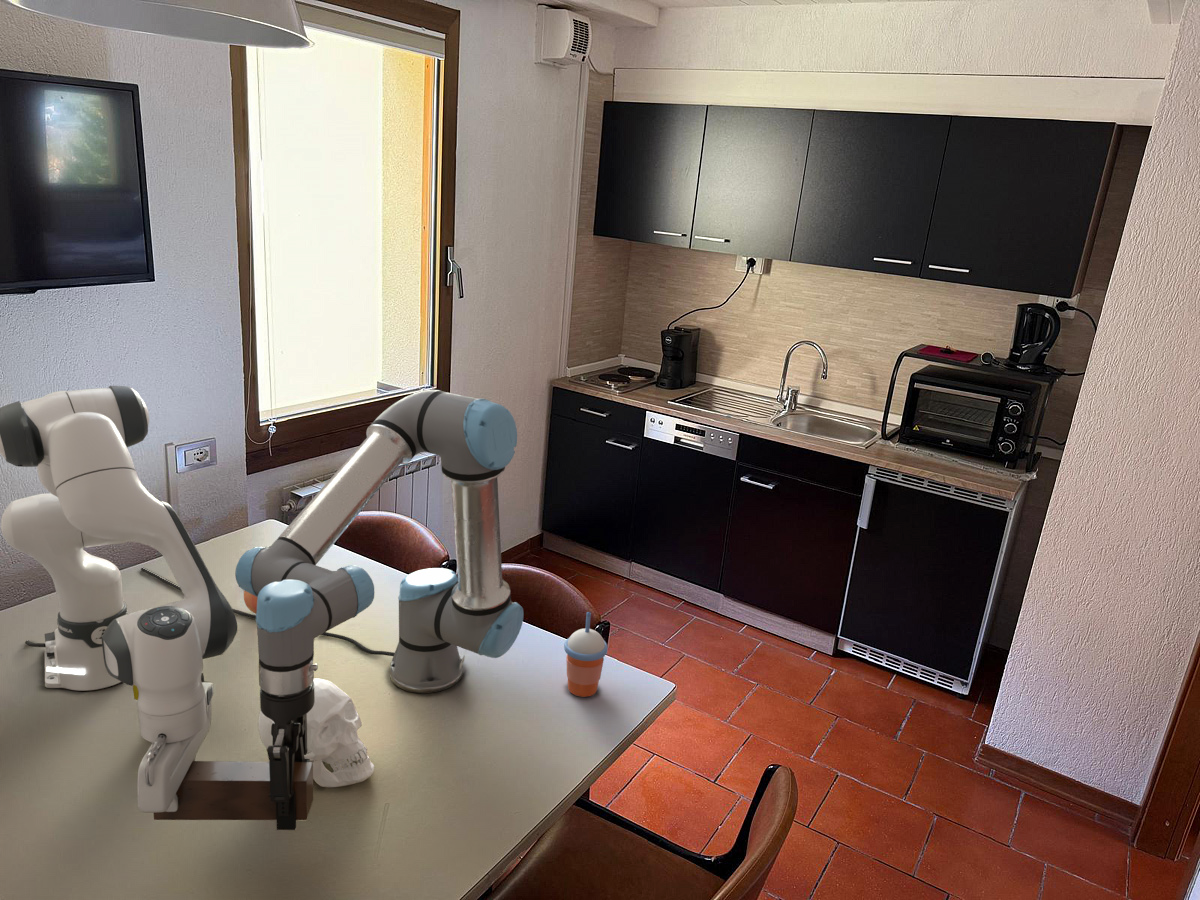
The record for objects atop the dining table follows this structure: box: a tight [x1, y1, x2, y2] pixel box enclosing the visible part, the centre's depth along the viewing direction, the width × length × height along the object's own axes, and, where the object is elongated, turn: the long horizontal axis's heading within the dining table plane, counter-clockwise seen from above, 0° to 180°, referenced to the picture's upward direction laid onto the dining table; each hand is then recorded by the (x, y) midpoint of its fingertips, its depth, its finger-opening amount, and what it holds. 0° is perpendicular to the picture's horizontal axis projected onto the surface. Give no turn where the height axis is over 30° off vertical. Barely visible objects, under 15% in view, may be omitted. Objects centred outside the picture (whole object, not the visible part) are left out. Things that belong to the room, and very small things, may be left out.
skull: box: [257, 677, 375, 788], centre depth 150 cm, size 13×22×16 cm, turn 73°
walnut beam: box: [153, 760, 314, 821], centre depth 129 cm, size 22×4×7 cm, turn 96°
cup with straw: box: [563, 611, 609, 698], centre depth 179 cm, size 9×9×18 cm
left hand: (179, 794), depth 129 cm, fingers closed on walnut beam, 4 cm apart
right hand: (291, 815), depth 132 cm, fingers closed on walnut beam, 5 cm apart
